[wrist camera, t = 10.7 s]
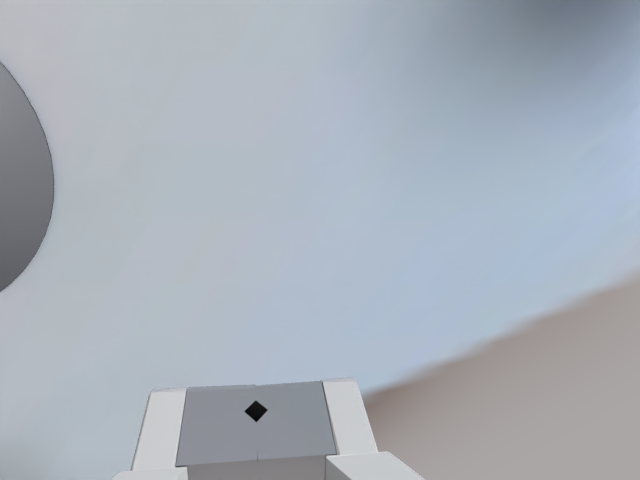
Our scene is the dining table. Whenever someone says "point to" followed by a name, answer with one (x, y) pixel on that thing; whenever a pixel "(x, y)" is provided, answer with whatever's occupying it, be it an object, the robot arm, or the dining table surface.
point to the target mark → (21, 180)
